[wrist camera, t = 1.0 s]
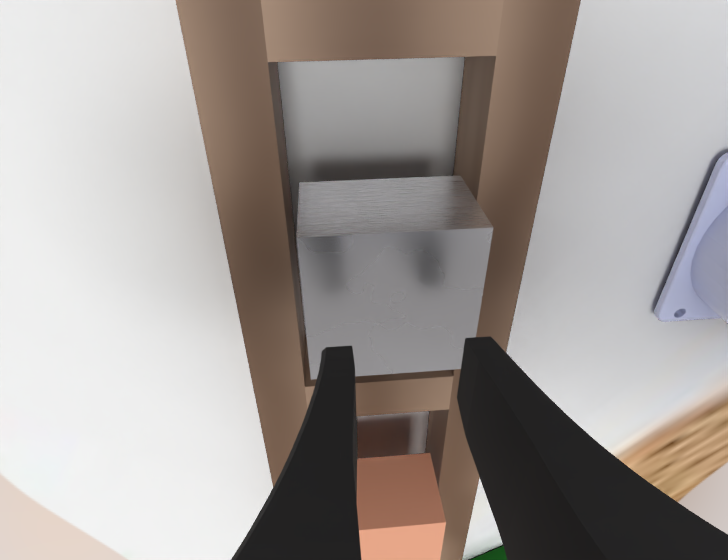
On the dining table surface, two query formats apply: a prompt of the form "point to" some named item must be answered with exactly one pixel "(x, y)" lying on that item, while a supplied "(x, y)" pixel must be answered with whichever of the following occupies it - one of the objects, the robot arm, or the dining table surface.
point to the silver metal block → (392, 271)
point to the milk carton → (493, 555)
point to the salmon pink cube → (399, 508)
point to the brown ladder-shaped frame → (472, 162)
